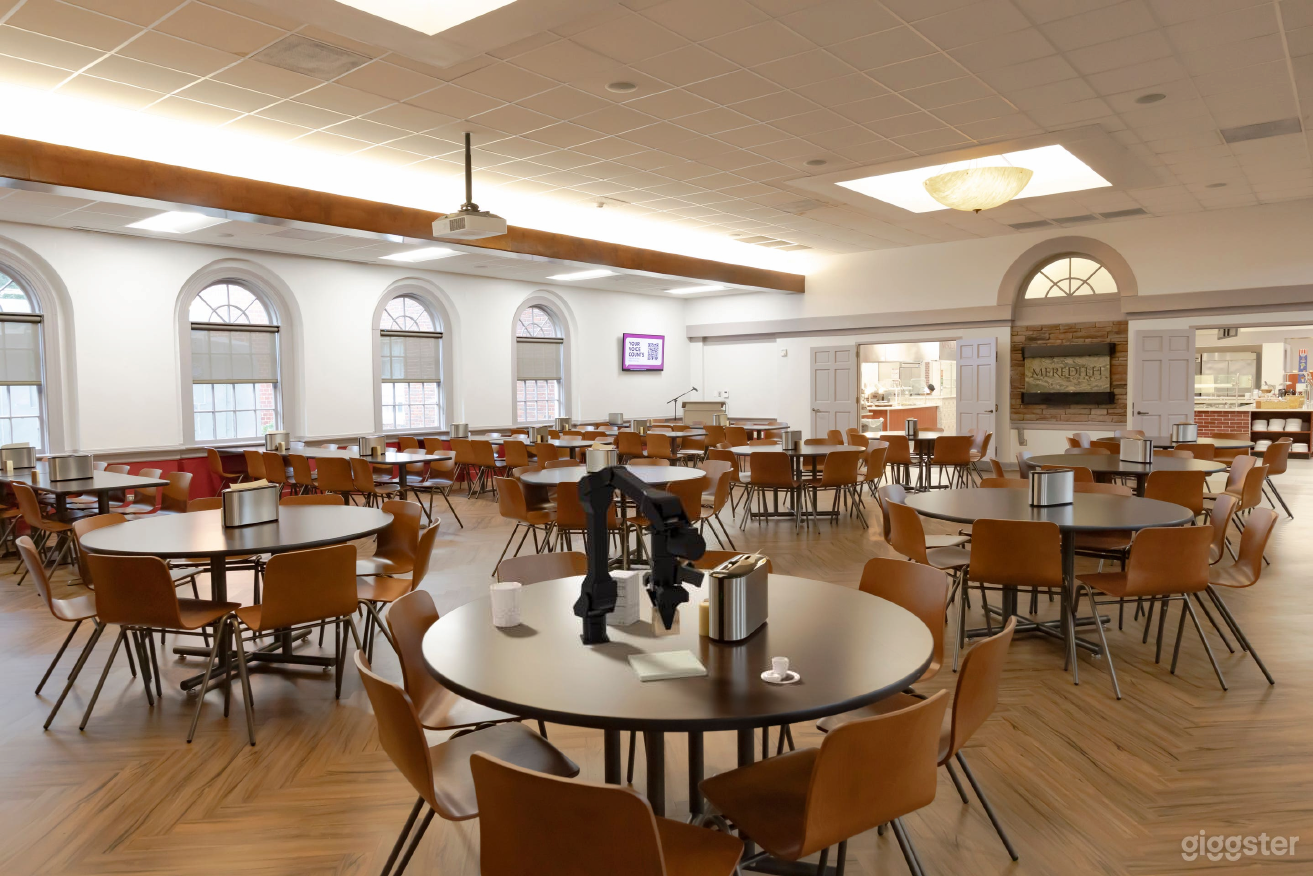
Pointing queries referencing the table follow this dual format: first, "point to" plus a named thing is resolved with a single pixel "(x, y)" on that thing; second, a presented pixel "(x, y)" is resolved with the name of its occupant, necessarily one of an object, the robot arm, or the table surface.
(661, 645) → the table surface
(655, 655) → the sage board
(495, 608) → the white cup
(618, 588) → the supplement box
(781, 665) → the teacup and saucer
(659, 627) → the maple cube
